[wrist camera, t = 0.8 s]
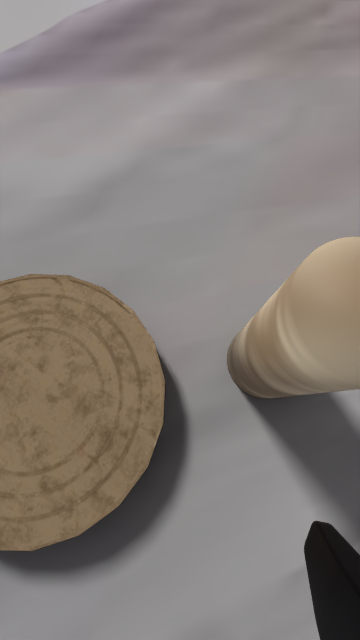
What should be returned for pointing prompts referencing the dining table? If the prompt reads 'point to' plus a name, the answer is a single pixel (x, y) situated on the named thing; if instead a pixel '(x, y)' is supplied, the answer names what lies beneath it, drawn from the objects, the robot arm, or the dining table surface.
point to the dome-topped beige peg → (305, 330)
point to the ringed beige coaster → (71, 407)
